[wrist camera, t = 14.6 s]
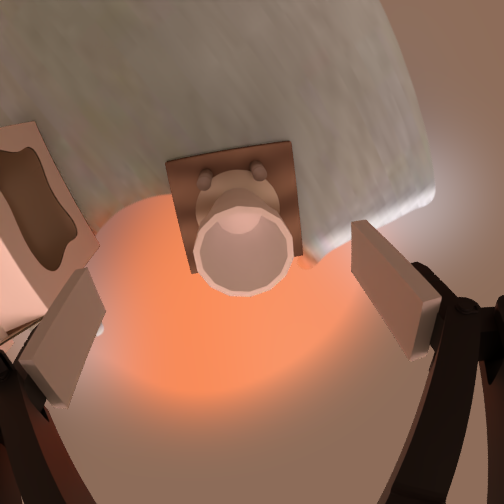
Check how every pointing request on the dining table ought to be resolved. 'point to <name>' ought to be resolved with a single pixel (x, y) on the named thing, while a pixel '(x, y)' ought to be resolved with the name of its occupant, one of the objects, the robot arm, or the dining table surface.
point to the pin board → (234, 186)
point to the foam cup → (242, 245)
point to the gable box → (35, 231)
